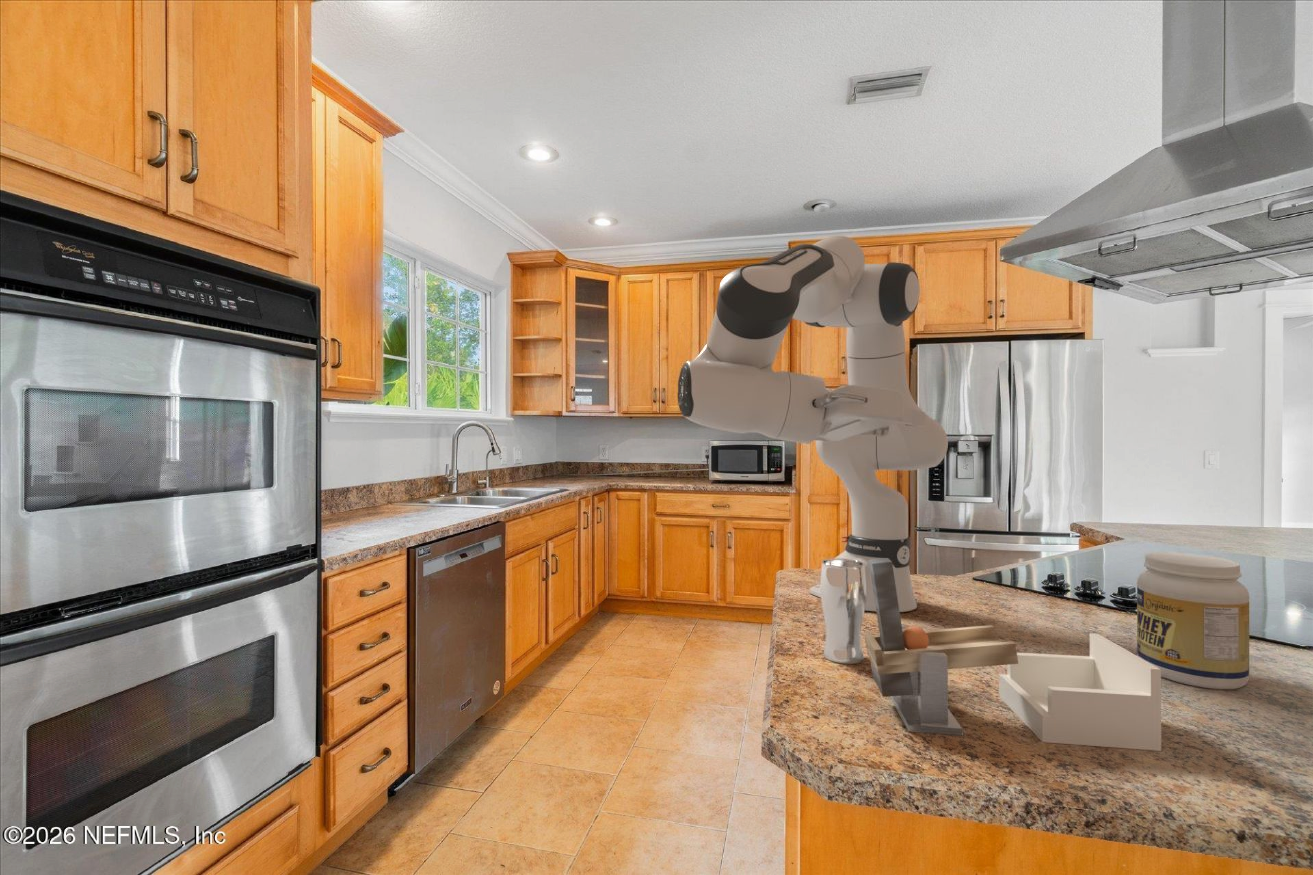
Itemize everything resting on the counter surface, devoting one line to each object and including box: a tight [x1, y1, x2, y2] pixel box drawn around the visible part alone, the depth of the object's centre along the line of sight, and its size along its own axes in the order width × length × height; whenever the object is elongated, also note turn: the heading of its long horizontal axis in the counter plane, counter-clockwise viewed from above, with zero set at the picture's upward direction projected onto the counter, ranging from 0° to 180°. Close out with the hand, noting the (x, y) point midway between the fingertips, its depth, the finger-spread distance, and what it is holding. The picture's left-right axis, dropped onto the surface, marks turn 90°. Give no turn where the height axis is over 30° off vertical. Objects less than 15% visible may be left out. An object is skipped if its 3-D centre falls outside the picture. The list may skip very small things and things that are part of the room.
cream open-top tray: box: [998, 633, 1162, 752], centre depth 72 cm, size 12×12×9 cm
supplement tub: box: [1136, 551, 1250, 690], centre depth 86 cm, size 12×12×17 cm
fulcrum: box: [889, 625, 964, 736], centre depth 75 cm, size 6×12×9 cm, turn 171°
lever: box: [863, 558, 1018, 698], centre depth 74 cm, size 16×8×16 cm, turn 81°
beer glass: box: [819, 557, 866, 665], centre depth 93 cm, size 7×7×15 cm
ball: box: [903, 626, 929, 650], centre depth 75 cm, size 3×3×3 cm
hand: (903, 425), depth 77 cm, fingers open, 8 cm apart
